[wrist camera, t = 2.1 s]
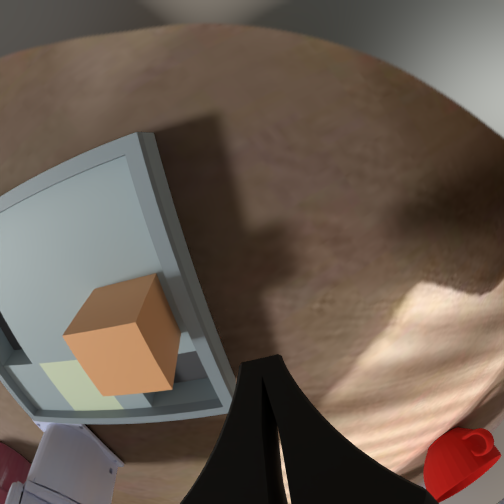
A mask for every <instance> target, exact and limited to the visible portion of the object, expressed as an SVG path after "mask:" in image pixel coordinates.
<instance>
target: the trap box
mask: <svg viewBox="0 0 504 504" xmlns="http://www.w3.org/2000/svg"><path fill="white" fill-rule="evenodd" d="M154 273H156V274H157V276H158V279H159V281H160V284H161V286H162V289H163V291H164V294H165V296H166V299H167V301H168V303H169V306H170V308H171V311H172V313H173V315H174V318H175V320H176V322H177V324H178V327H179V329H180V331H181V338H180V344H179V350H178V356H177V363H176V369H175V376H174V383H173V390H165V391H157V392H148V393H139V394H128V395H116V396H102V394H101V393H100V392H99V390H98V389H97V388H96V386H95V385H94V384H93V382H92V381H91V379H90V378H89V377H88V375H87V374H86V372H85V371H84V369H83V368H82V366H81V365H80V363H79V362H78V360H77V359H76V357H75V356H74V354H73V353H72V351H71V350H70V348H69V346H68V345H67V343H66V341H65V340H64V338H63V337H62V335H63V334H64V332H65V331H66V329H67V328H68V326H69V325H70V323H71V322H72V320H73V319H74V317H75V316H76V314H77V313H78V311H79V310H80V308H81V307H82V305H83V304H84V303H85V301H86V300H87V298H88V297H89V296H90V294H91V293H92V291H93V290H94V289H95V288H99V287H103V286H107V285H111V284H115V283H119V282H123V281H127V280H131V279H135V278H139V277H143V276H147V275H151V274H154ZM0 381H1V382H2V383H3V385H4V386H5V387H6V389H7V390H8V391H9V392H10V394H11V395H12V396H13V397H14V399H15V400H16V401H17V402H18V403H19V405H20V406H21V407H22V408H23V409H24V410H25V412H26V413H27V414H28V415H29V416H30V417H31V418H32V419H33V420H34V421H39V422H51V423H67V424H135V423H151V422H164V421H175V420H184V419H192V418H200V417H207V416H214V415H220V414H226V413H228V411H229V408H230V405H231V402H232V398H233V395H234V391H235V387H236V382H235V376H234V374H233V371H232V369H231V366H230V364H229V361H228V359H227V356H226V354H225V351H224V349H223V346H222V343H221V341H220V338H219V335H218V333H217V330H216V328H215V325H214V322H213V319H212V317H211V314H210V311H209V309H208V306H207V303H206V300H205V297H204V295H203V292H202V289H201V286H200V283H199V280H198V277H197V274H196V272H195V269H194V266H193V263H192V260H191V257H190V254H189V251H188V248H187V244H186V241H185V238H184V235H183V232H182V229H181V226H180V223H179V219H178V216H177V213H176V210H175V206H174V203H173V200H172V196H171V193H170V190H169V186H168V183H167V179H166V176H165V172H164V169H163V165H162V162H161V158H160V154H159V151H158V147H157V143H156V139H155V136H154V133H148V132H135V133H133V134H130V135H127V136H124V137H122V138H119V139H117V140H114V141H112V142H109V143H107V144H104V145H102V146H99V147H97V148H94V149H92V150H90V151H87V152H85V153H83V154H81V155H78V156H76V157H74V158H72V159H70V160H68V161H65V162H63V163H61V164H59V165H57V166H55V167H53V168H51V169H49V170H47V171H45V172H43V173H41V174H39V175H37V176H36V177H34V178H32V179H30V180H28V181H26V182H25V183H23V184H21V185H19V186H17V187H16V188H14V189H12V190H10V191H9V192H7V193H5V194H4V195H2V196H0Z"/></svg>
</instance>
